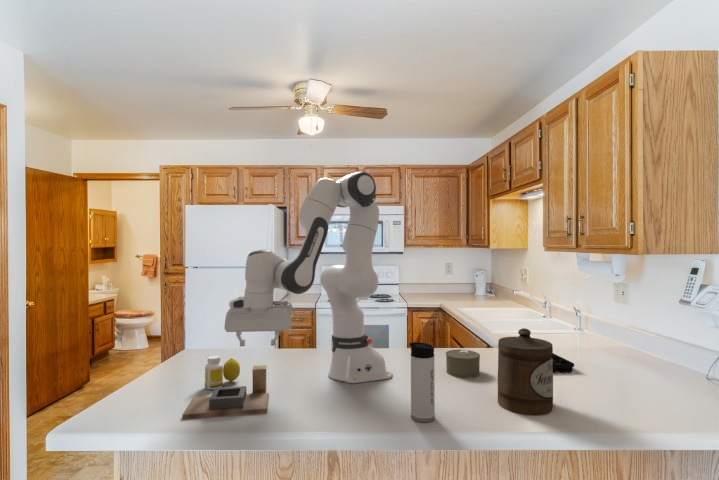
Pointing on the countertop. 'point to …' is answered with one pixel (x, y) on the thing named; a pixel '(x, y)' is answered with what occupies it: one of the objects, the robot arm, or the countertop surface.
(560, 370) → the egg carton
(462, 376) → the can
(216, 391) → the collar
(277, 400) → the countertop surface
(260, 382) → the square bar
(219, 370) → the supplement bottle
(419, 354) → the travel mug
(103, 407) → the countertop surface
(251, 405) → the dock board
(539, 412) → the wooden container
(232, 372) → the lemon
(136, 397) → the countertop surface
